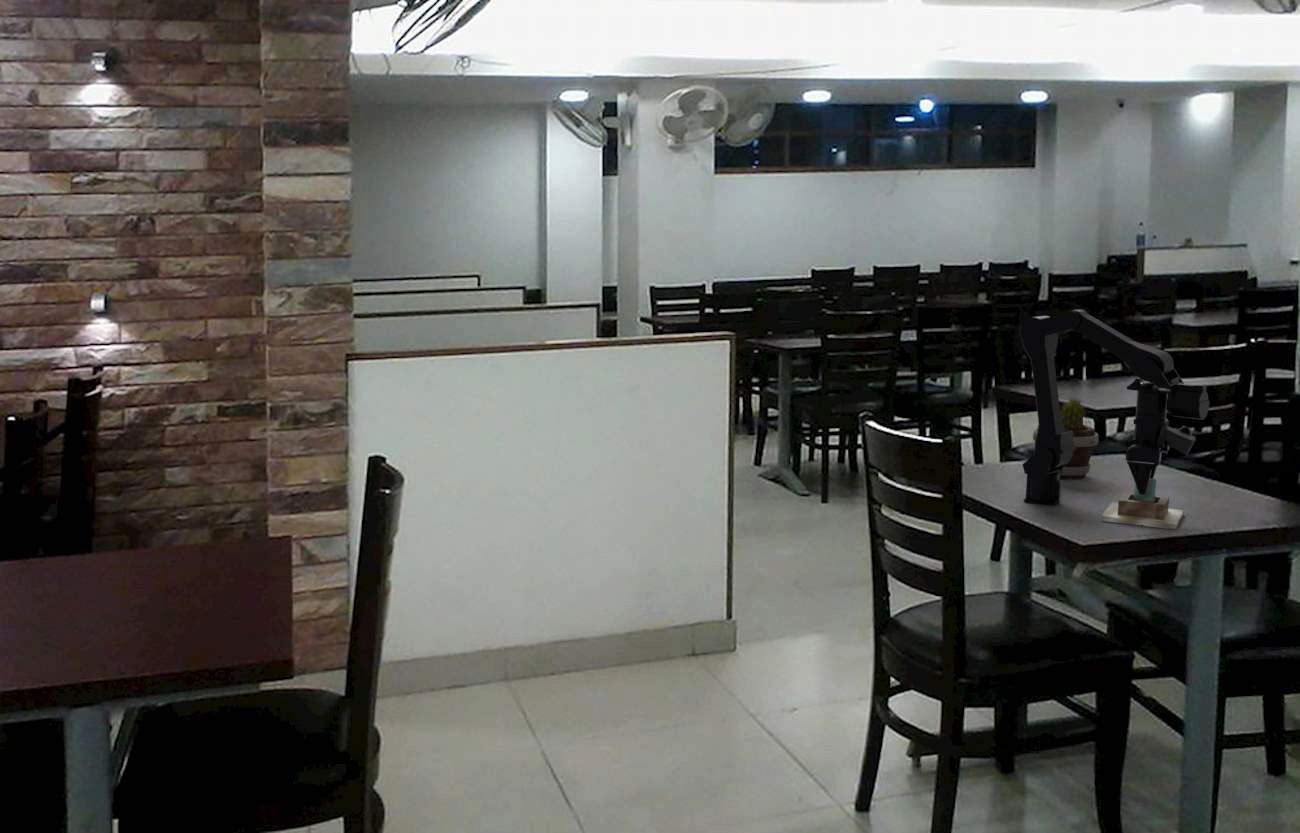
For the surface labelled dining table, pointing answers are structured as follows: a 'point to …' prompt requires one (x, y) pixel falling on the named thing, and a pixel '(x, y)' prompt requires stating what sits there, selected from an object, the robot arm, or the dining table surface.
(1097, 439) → the flowerpot
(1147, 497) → the peg
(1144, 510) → the socket board
